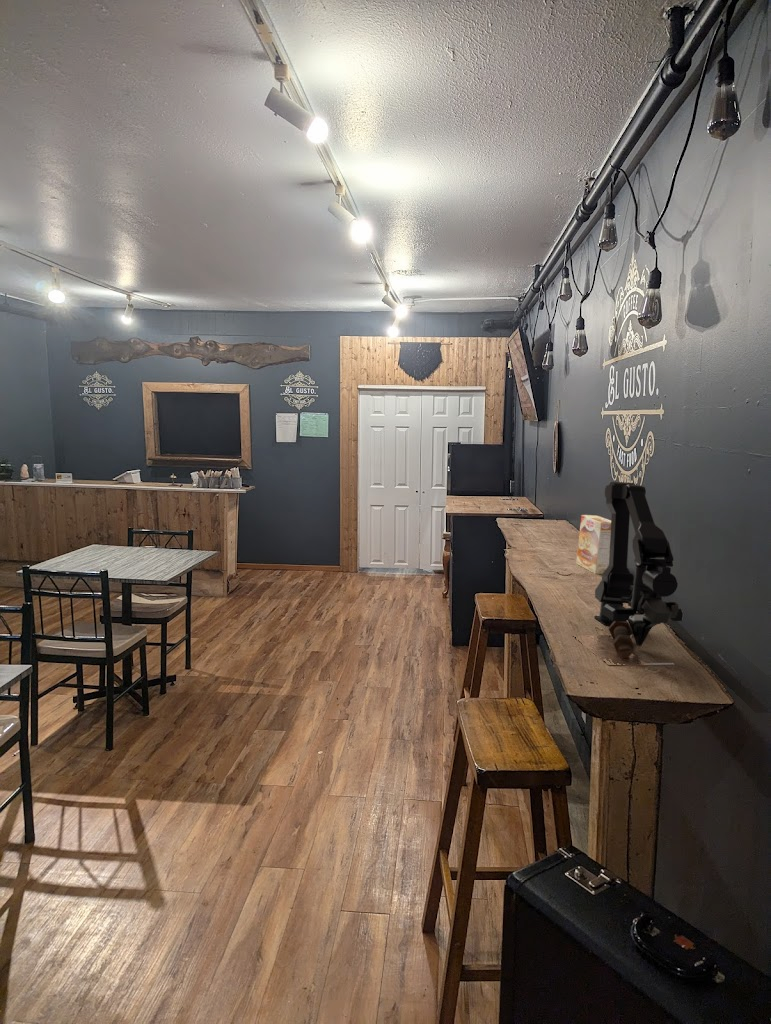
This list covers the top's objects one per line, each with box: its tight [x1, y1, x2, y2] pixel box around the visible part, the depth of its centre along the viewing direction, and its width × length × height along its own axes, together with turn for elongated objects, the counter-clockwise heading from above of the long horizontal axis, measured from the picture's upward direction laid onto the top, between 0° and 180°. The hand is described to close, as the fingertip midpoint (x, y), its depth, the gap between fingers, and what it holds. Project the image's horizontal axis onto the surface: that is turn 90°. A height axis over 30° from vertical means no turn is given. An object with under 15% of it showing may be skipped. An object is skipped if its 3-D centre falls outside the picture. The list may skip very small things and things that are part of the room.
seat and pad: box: [578, 634, 676, 666], centre depth 155 cm, size 19×17×1 cm
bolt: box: [608, 620, 635, 657], centre depth 155 cm, size 6×5×15 cm
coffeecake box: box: [575, 514, 611, 575], centre depth 235 cm, size 15×7×20 cm, turn 10°
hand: (638, 645), depth 156 cm, fingers closed
